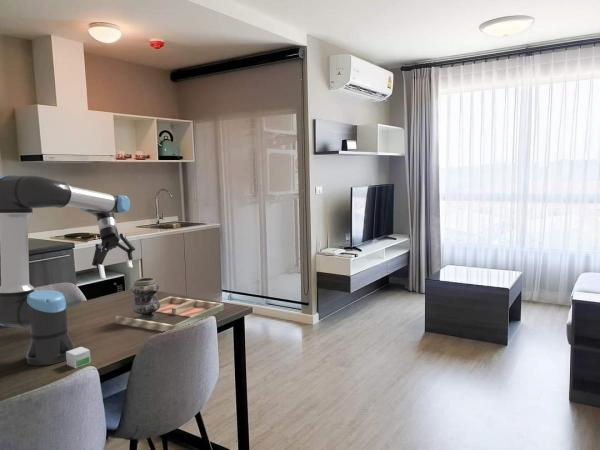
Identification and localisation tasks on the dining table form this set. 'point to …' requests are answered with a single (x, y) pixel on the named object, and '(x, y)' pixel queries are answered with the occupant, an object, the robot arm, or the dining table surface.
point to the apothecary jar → (145, 298)
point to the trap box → (176, 313)
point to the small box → (78, 357)
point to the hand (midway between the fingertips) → (116, 273)
